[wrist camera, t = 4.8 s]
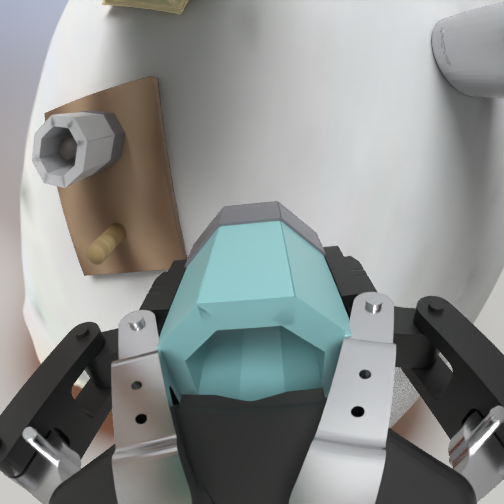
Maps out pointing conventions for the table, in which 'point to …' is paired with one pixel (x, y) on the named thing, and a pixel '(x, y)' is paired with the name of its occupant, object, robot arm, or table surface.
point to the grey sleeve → (88, 149)
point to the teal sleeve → (255, 309)
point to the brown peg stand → (124, 189)
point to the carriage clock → (151, 4)
